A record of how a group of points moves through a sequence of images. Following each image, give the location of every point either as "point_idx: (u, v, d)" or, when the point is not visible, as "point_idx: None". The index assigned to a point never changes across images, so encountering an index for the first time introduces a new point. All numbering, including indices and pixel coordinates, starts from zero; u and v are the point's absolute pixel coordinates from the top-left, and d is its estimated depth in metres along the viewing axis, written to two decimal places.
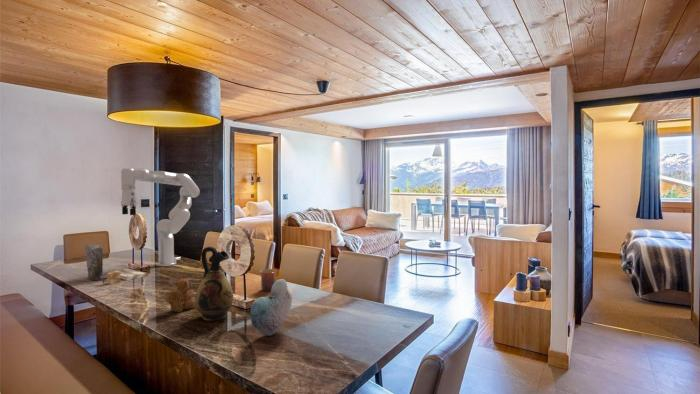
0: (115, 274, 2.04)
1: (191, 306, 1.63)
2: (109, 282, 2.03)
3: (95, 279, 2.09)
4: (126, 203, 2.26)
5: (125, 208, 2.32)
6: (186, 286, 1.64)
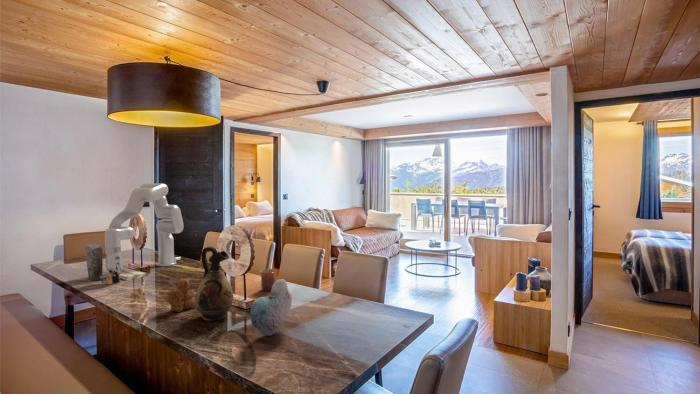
0: None
1: (191, 306, 1.64)
2: (108, 282, 2.03)
3: (95, 279, 2.09)
4: (110, 268, 2.02)
5: None
6: (186, 286, 1.64)
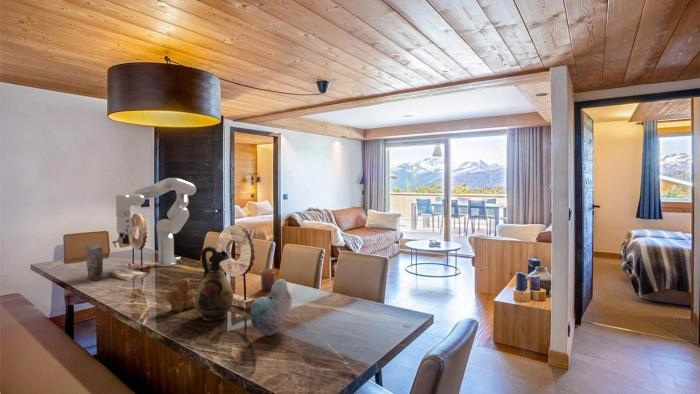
0: None
1: (192, 306, 1.64)
2: (121, 246, 2.24)
3: (95, 279, 2.09)
4: (121, 230, 2.23)
5: None
6: (187, 286, 1.64)
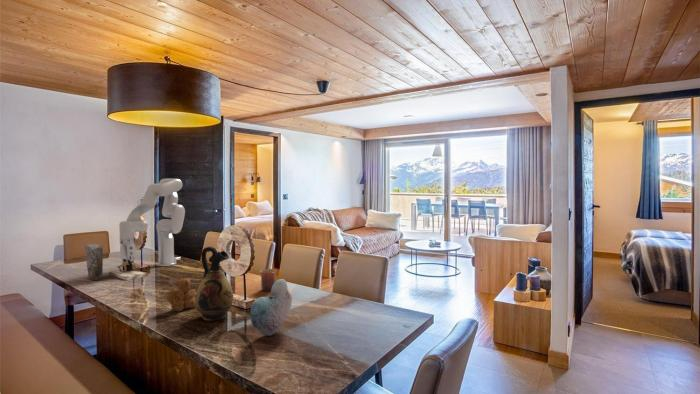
0: None
1: (192, 306, 1.64)
2: None
3: (95, 279, 2.09)
4: (125, 257, 2.22)
5: None
6: (187, 285, 1.65)
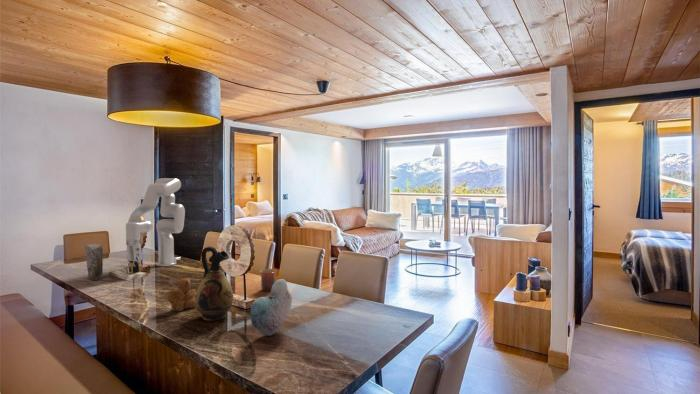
0: None
1: (192, 305, 1.64)
2: None
3: (95, 279, 2.09)
4: (131, 259, 2.17)
5: None
6: (187, 285, 1.65)
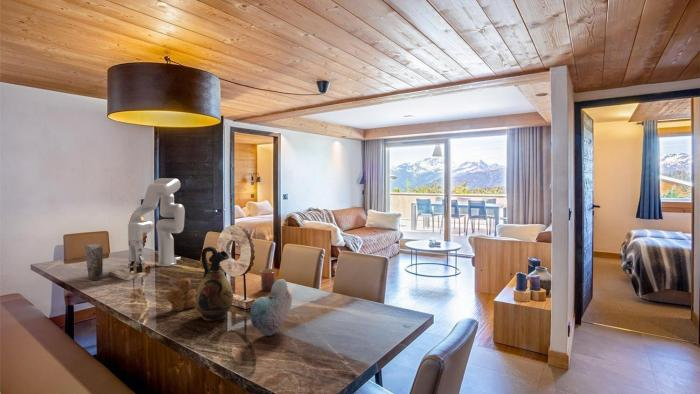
0: None
1: (192, 305, 1.64)
2: (135, 272, 2.19)
3: (95, 279, 2.09)
4: (133, 259, 2.16)
5: (133, 264, 2.21)
6: (188, 285, 1.65)
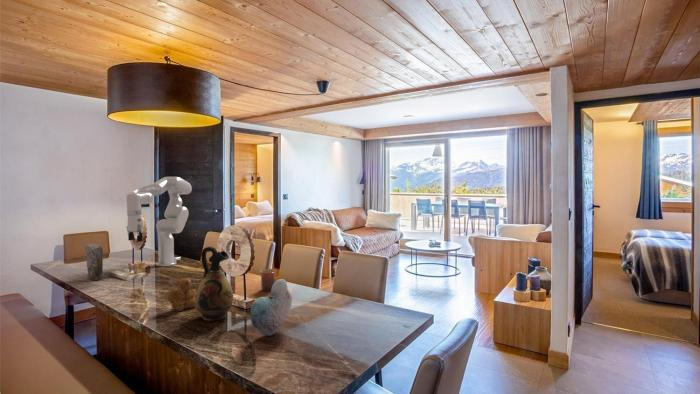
0: (141, 264, 2.20)
1: (192, 305, 1.64)
2: (135, 272, 2.19)
3: (95, 279, 2.09)
4: (133, 230, 2.19)
5: (131, 234, 2.24)
6: (188, 285, 1.65)
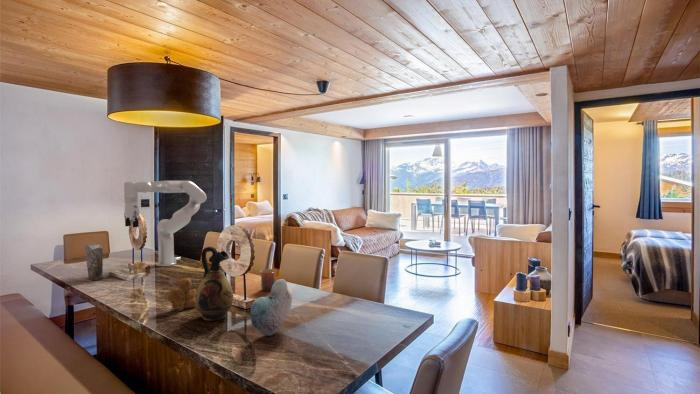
0: (141, 264, 2.20)
1: (192, 305, 1.65)
2: (135, 272, 2.19)
3: (95, 279, 2.09)
4: (129, 216, 2.33)
5: (128, 220, 2.38)
6: (188, 285, 1.65)
